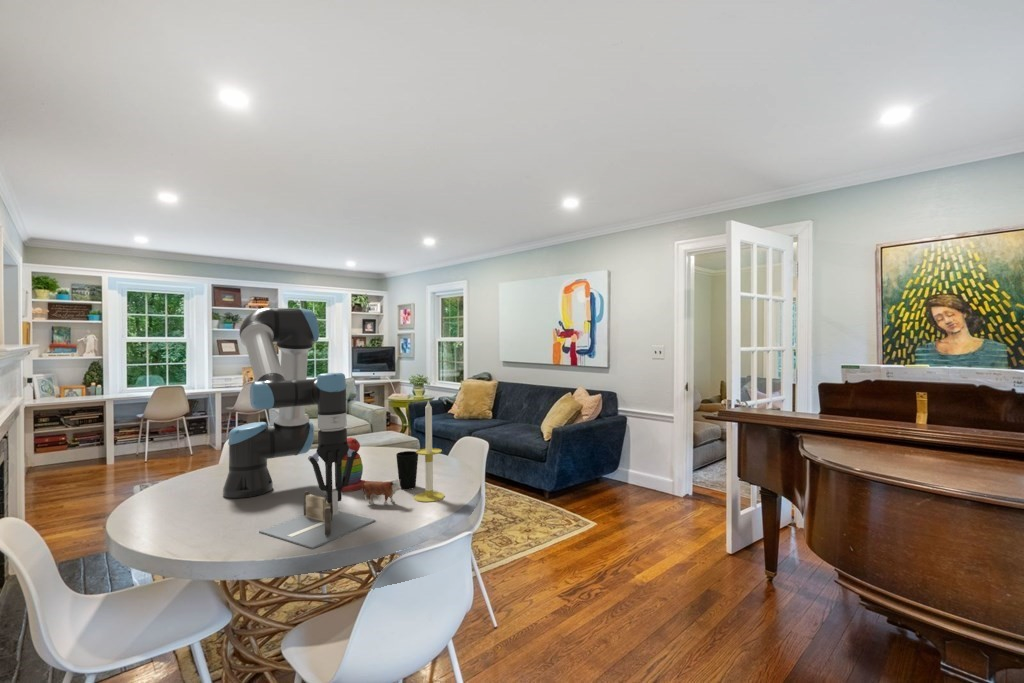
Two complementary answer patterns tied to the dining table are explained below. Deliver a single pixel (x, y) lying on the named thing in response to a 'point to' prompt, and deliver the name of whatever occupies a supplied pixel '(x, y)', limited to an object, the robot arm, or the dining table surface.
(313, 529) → the card
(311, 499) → the fence fixed
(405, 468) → the cup
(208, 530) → the dining table surface
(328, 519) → the fence hinged
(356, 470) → the stacking bear
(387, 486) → the bull figurine
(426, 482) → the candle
